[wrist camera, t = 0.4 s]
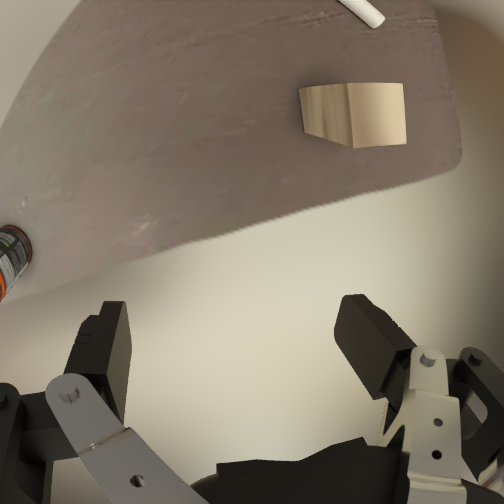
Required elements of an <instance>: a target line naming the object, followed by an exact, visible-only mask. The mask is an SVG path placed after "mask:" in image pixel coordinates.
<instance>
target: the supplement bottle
mask: <svg viewBox="0 0 504 504" xmlns="http://www.w3.org/2000/svg"><path fill="white" fill-rule="evenodd" d="M30 260H31V247H30V244H29V241H28V239H27V238H26V236H25V235H24V234H23V233H22V232H21V231H20V230H19V229H17V228H15V227H13V226H4V227H1V228H0V302H1V301H2V299H3V298H4V296H5V295H6V294H7V293H8V291H9V290H10V289H11V287H12V286H13V284H14V283H15V282H16V281H17V279H18V278H19V277H21V275H22V273H23V272H24V271H25V269H26V268H27V266H28V265H29V263H30Z"/></svg>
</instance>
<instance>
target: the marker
mask: <svg viewBox="0 0 504 504" xmlns="http://www.w3.org/2000/svg"><path fill="white" fill-rule="evenodd" d="M339 1H340V2H341V3H343V4H344V5H345V6H346V7H348V8H349V9H350V10H351V11H353V12H354V13H355V14H356V15H357V16H359V17H360V18H361V19H362V20H363V21H364V22H366V23H367V24H368V25H369V26H370V27H372V28H373V29H374V27H375V28H376V27H378V26H379V25H380V24H382V22H383V21H384V20H385V17H384V16H383V15H382V14H381V13H380V12H379V11H378V10H376V9H375V8H374V7H373V6H372V5H371V4H370V3H368V2H367V1H366V0H339Z"/></svg>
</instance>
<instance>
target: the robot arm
mask: <svg viewBox="0 0 504 504" xmlns="http://www.w3.org/2000/svg"><path fill="white" fill-rule="evenodd" d="M334 338H335V341H336V343H337V345H338V346H339V348H340V349H341V351H342V352H343V354H344V355H345V357H346V359H347V360H348V362H349V363H350V365H351V366H352V368H353V369H354V371H355V372H356V374H357V375H358V377H359V378H360V380H361V382H362V383H363V385H364V386H365V388H366V389H367V391H368V392H369V394H370V395H371V397H372V399H373V400H376V399H380V398H384V397H386V398H387V402H386V404H385V406H384V411H383V417H382V422H381V427H380V432H379V437H378V441H377V444H376V446H370V445H369V446H368V445H367V443H366V442H365V440H364V438H363V437H360V438H357V439H353V440H350V441H346V442H342V443H338V444H334V445H331V446H329V447H327V448H325V449H323V450H321V451H319V452H317V453H315V454H313V455H311V456H309V457H307V458H304V459H302V460H300V461H274V460H257V459H256V460H248V461H239V462H230V463H218V464H216V467H217V469H216V470H217V473H216V474H213V475H210V476H207V477H205V478H203V479H200V480H199V481H197V482H195V483H193V484H192V485H190V486H189V485H188V484H186V483H185V482H184V481H183V480H182V479H181V478H180V477H179V476H178V475H177V474H176V473H175V472H174V471H173V470H171V469H170V467H169V466H168V465H166V464H165V463H164V461H163V460H161V458H160V457H159V456H158V455H157V454H156V453H155V452H154V451H153V450H152V449H151V448H150V447H149V446H148V445H147V444H146V443H145V442H144V440H143V439H142V438H141V437H140V436H139V435H138V434H137V433H136V432H135V431H134V430H133V429H132V428H130V427H128V428H125V427H124V426H123V425H124V413H125V403H126V393H127V385H128V376H129V368H130V360H131V353H132V346H131V345H132V344H131V335H130V328H129V321H128V314H127V307H126V303H125V301H104V302H103V305H102V308H101V311H100V313H99V315H90V316H89V317H88V318H87V319H86V320H85V321H84V322H83V323H81V326H80V328H79V331H78V336H77V337H76V339H75V344H73V347H72V350H71V353H70V356H69V358H68V361H67V364H66V367H65V370H64V373H63V375H60V376H58V377H56V378H54V379H53V380H52V381H51V382H50V383H49V384H48V386H47V388H46V391H44V392H40V393H33V394H26V395H20V394H19V392H18V390H17V389H16V388H15V387H14V386H13V385H11V384H9V383H0V504H50V497H51V483H52V472H53V463H54V461H56V460H63V459H68V458H75V457H80V459H81V460H82V462H83V463H84V465H85V466H86V468H87V469H88V471H89V472H90V473H91V475H92V476H93V478H94V479H95V480H96V482H97V483H98V485H99V486H100V487H101V489H102V490H103V491H104V493H105V494H106V495H107V496H108V498H109V499H110V500H111V501H112V503H113V504H504V373H503V372H502V371H501V370H500V369H499V368H498V367H497V366H496V365H495V364H494V363H493V362H492V361H491V359H490V358H489V357H488V356H487V355H486V354H484V353H483V352H482V351H480V350H478V349H476V348H472V347H467V348H464V349H463V350H462V351H461V353H460V355H459V357H458V359H445V358H444V356H443V355H442V354H441V353H440V352H439V351H437V350H436V349H434V348H431V347H428V346H417V345H416V344H415V343H414V342H413V341H412V340H411V339H410V338H409V336H408V335H407V334H406V333H405V332H404V331H403V330H402V329H401V328H400V327H398V325H397V324H396V323H395V321H392V319H391V317H390V316H389V315H388V314H387V313H386V312H385V311H383V310H382V309H380V308H378V307H377V306H375V305H374V304H373V303H372V302H371V301H370V300H369V299H368V298H367V297H366V296H365V295H364V294H354V295H345V296H344V297H343V298H342V301H341V305H340V309H339V312H338V316H337V320H336V324H335V327H334ZM474 392H475V393H476V395H477V396H478V397H479V398H480V400H482V402H483V403H484V404H485V405H486V407H487V411H488V416H487V418H486V420H485V421H484V423H483V424H482V423H481V422H480V421H479V419H478V418H477V416H476V415H475V414H474V413H473V411H472V410H471V409H470V407H469V406H468V404H467V402H468V401H469V399H470V398H471V396H472V395H473V393H474ZM461 456H462V457H463V459H464V461H465V462H466V464H467V466H468V467H469V469H470V470H471V472H472V474H473V475H474V477H475V479H476V480H477V482H478V484H479V485H477V484H474V483H472V482H469V481H466V480H464V479H461Z"/></svg>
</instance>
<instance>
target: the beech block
mask: <svg viewBox="0 0 504 504" xmlns="http://www.w3.org/2000/svg"><path fill="white" fill-rule="evenodd" d="M298 93H299V101H300V108H301V116H302V124H303V132H304V133H308V134H311V135H314V136H318V137H321V138H324V139H327V140H330V141H333V142H336V143H339V144H342V145H345V146H348V147H351V148H362V147H372V146H383V145H396V144H406V124H405V109H404V96H403V86H402V84H399V83H342V84H332V85H322V86H313V87H306V88H298Z"/></svg>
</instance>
